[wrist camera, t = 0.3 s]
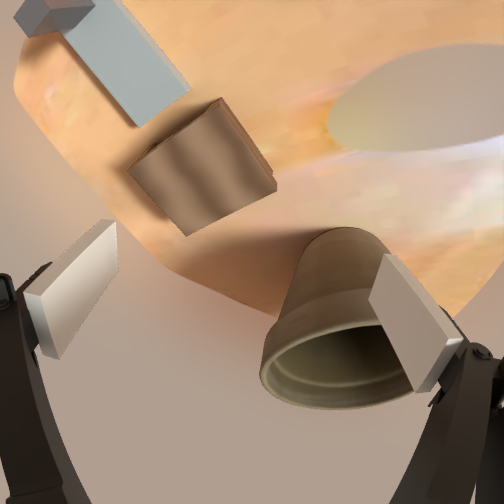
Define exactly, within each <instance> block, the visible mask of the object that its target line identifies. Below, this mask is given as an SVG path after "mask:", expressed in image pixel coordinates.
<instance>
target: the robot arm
mask: <svg viewBox="0 0 504 504" xmlns="http://www.w3.org/2000/svg"><path fill="white" fill-rule="evenodd" d="M117 258H118V257H117V240H116V221H114V220H104V219H102V220H100V221H99V222H98V223H97V224H96V225H94V226H93V227H92V228H91V229H90V230H89V231H88V232H86V233H85V234H84V235H83V236H82V237H81V238H80V239H78V240H77V241H76V242H75V243H74V244H73V245H71V246H70V247H69V248H68V249H67V250H66V251H65V252H64V253H63V254H62V255H60V256H59V258H57V259H56V260H55V261H54V262H49V263H47V264H46V265H43V266H41V267H40V268H39V269H38V270H37V271H36V272H35V273H34V274H33V275H32V276H31V277H30V278H29V280H26V281H25V282H24V283H23V285H21V286H20V287H19V288H18V289H17V291H15V290H14V286H13V283H12V279H11V276H9V275H8V274H4V273H0V458H1V462H2V466H3V470H4V473H5V477H6V480H7V483H8V486H9V490H10V497H9V498H7V499H6V504H92V503H91V502H90V499H89V498H88V496H87V494H86V492H85V490H84V488H83V486H82V484H81V482H80V480H79V478H78V476H77V473H76V471H75V469H74V467H73V465H72V463H71V460H70V458H69V456H68V453H67V451H66V448H65V446H64V443H63V441H62V438H61V436H60V433H59V430H58V428H57V425H56V422H55V419H54V416H53V413H52V410H51V407H50V404H49V401H48V398H47V394H46V391H45V387H44V384H43V380H42V377H41V373H40V369H39V365H38V361H37V357H36V354H35V352H34V349H35V347H36V346H37V345H38V343H39V345H40V348H41V350H42V353H43V355H45V356H48V357H51V358H55V359H58V360H60V358H61V357H62V355H63V353H64V352H65V350H66V348H67V347H68V345H69V344H70V342H71V341H72V339H73V337H74V336H75V334H76V332H77V331H78V330H79V328H80V327H81V325H82V323H83V322H84V320H85V319H86V317H87V316H88V314H89V313H90V311H91V310H92V308H93V307H94V305H95V304H96V303H97V301H98V300H99V298H100V296H101V295H102V294H103V292H104V291H105V290H106V288H107V287H108V285H109V284H110V282H111V281H112V280H113V278H114V277H115V275H116V274H117V273H118V259H117ZM368 300H369V302H370V304H371V306H372V308H373V310H374V311H375V313H376V315H377V317H378V319H379V321H380V323H381V325H382V327H383V328H384V330H385V332H386V334H387V336H388V338H389V340H390V342H391V344H392V346H393V348H394V350H395V352H396V354H397V356H398V358H399V360H400V362H401V364H402V366H403V368H404V370H405V372H406V375H407V377H408V379H409V381H410V383H411V385H412V387H413V389H414V392H415V393H423V392H430V391H431V390H432V388H433V387H434V385H435V384H436V382H437V381H438V382H439V384H440V386H441V388H440V390H439V391H438V392H437V394H436V395H435V397H434V398H433V399H432V401H431V402H430V403H429V405H428V407H430V406H431V405H432V404H433V406H432V409H431V412H430V414H429V417H428V420H427V423H426V425H425V428H424V431H423V433H422V435H421V438H420V440H419V443H418V445H417V448H416V450H415V452H414V455H413V457H412V459H411V461H410V464H409V465H408V468H407V470H406V472H405V474H404V476H403V478H402V480H401V482H400V484H399V486H398V488H397V490H396V492H395V494H394V495H393V497H392V499H391V501H390V503H389V504H470V501H471V498H472V494H473V491H474V488H475V484H476V495H475V504H504V407H503V408H502V405H501V403H502V402H503V401H504V357H503V358H502V360H500V359H495V358H493V355H492V354H491V352H490V351H489V350H488V349H487V348H486V347H485V346H483V345H481V344H479V343H470V342H469V340H468V339H467V338H466V336H465V335H464V334H463V332H462V331H461V330H460V329H459V327H458V326H456V323H455V322H454V320H452V318H451V316H450V315H449V314H448V313H447V311H445V310H444V309H443V308H442V307H440V306H439V305H438V304H437V303H436V301H435V300H434V299H433V298H432V296H431V295H430V294H429V293H428V292H427V290H426V289H425V288H424V287H423V285H422V284H421V283H420V282H419V281H418V279H417V278H416V277H415V276H414V275H413V273H412V272H411V271H410V270H409V269H408V268H407V266H406V265H405V264H404V263H403V262H402V261H401V260H400V258H399V257H398V256H397V255H392V254H385V253H384V255H383V258H382V261H381V264H380V267H379V270H378V273H377V276H376V279H375V282H374V285H373V288H372V291H371V293H370V296H369V299H368Z"/></svg>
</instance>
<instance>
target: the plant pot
mask: <svg viewBox="0 0 504 504" xmlns="http://www.w3.org/2000/svg"><path fill="white" fill-rule="evenodd" d="M384 253H385V254H391V253H390V251H389V250H388V249H387V248H386V247H385V245H384V244H383V243H382V242H381V241H380V240H379V239H378V238H377V237H376V236H374V235H373V234H371V233H369V232H367V231H365V230H362V229H358V228H338V229H334V230H330V231H327V232H325V233H323V234H321V235H319V236H318V237H317V238H315V239H314V240H313V241H312V242H311V243H310V244H309V245H308V246H307V247H306V249H305V250H304V252H303V254H302V256H301V258H300V260H299V263H298V265H297V268H296V271H295V274H294V277H293V279H292V282H291V285H290V288H289V290H288V293H287V296H286V299H285V301H284V304H283V307H282V310H281V312H280V315H279V318H278V321H277V322H276V323H275V324H274V325H273V326H272V328H271V329H270V331H269V332H268V334H267V336H266V339H265V342H264V349H263V355H262V361H261V368H260V372H259V375H260V380H261V383H262V385H263V386H264V387H265V389H266V390H267V391H268V392H269V393H270V394H272V395H273V396H274V397H276V398H278V399H280V400H282V401H284V402H287V403H289V404H293V405H297V406H301V407H306V408H313V409H320V410H349V409H359V408H366V407H372V406H376V405H380V404H384V403H388V402H391V401H394V400H397V399H399V398H402V397H405V396H406V395H409V394H411V393H413V392H414V389H413V387H412V385H411V383H410V381H409V379H408V377H407V375H406V372H405V370H404V368H403V366H402V364H401V362H400V360H399V358H398V356H397V354H396V352H395V350H394V348H393V346H392V344H391V342H390V340H389V338H388V336H387V334H386V332H385V330H384V328H383V327H382V325H381V323H380V321H379V319H378V317H377V315H376V313H375V311H374V310H373V308H372V306H371V304H370V302H369V300H368V299H369V296H370V293H371V291H372V288H373V285H374V282H375V279H376V276H377V273H378V270H379V267H380V264H381V261H382V258H383V255H384Z"/></svg>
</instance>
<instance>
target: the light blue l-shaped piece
mask: <svg viewBox="0 0 504 504" xmlns="http://www.w3.org/2000/svg"><path fill="white" fill-rule="evenodd" d="M13 18H14V19H15V20H16V22H17V23H18V24H19V26H20V27H21V28H22V30H23V31H24V32H25V34H26V35H27V36H28V37H29V38H31V37H34V36H38V35H42V34H47V33H51V32H56V31H60V33H61V34H62V35H63V36H64V37H65V39H66V40H67V41H68V42H69V44H70V45H71V46H72V47H73V48H74V50H75V51H76V52H77V53H78V55H79V56H80V57H81V58H82V59H83V61H84V62H85V63H86V64H87V66H88V67H89V68H90V69H91V70H92V72H93V73H94V74H95V75H96V76H97V78H98V79H99V80H100V81H101V83H102V84H103V85H104V86H105V87H106V89H107V90H108V91H109V92H110V93H111V95H112V96H113V97H114V98H115V99H116V101H117V102H118V103H119V104H120V106H121V107H122V108H123V109H124V110H125V112H126V113H127V114H128V115H129V116H130V118H131V119H132V120H133V121H134V122H135V124H136V125H137V126H138V127H139V128H140V127H142V126H143V125H144V124H145V123H147V122H148V121H149V120H150V119H152V118H153V117H154V116H156V115H157V114H158V113H159V112H161V111H162V110H163V109H165V108H166V107H167V106H169V105H170V104H171V103H173V102H174V101H175V100H177V99H178V98H180V97H181V96H182V95H184V94H185V93H187V92H188V91H189V90H190V89H192V87H191V86H190V85H189V83H188V82H187V81H186V79H185V78H184V77H183V76H182V74H181V73H180V72H179V70H178V69H177V68H176V67H175V65H174V64H173V63H172V62H171V60H170V59H169V58H168V57H167V55H166V54H165V53H164V52H163V50H162V49H161V48H160V47H159V45H158V44H157V43H156V42H155V40H154V39H153V38H152V37H151V36H150V34H149V33H148V32H147V31H146V30H145V28H144V27H143V26H142V25H141V24H140V22H139V21H138V20H137V19H136V18H135V16H134V15H133V14H132V13H131V12H130V11H129V9H128V8H127V7H126V6H125V5H124V4H123V2H122V1H121V0H25V2H24V3H23V4H22V6H21V7H20V9H19V10H18V11H17V13H16V14H15V16H14V17H13Z"/></svg>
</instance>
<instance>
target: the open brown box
mask: <svg viewBox="0 0 504 504" xmlns="http://www.w3.org/2000/svg"><path fill="white" fill-rule="evenodd" d="M128 173H129V174H130V175H131V176H132V177H133V178H134V179H135V181H136V182H137V183H138V184H139V185H140V186H141V187H142V188H143V190H144V191H145V192H146V193H147V194H148V195H149V196H150V197H151V199H152V200H153V201H154V202H155V203H156V204H157V205H158V206H159V207H160V209H161V210H162V211H163V212H164V213H165V214H166V215H167V216H168V217H169V218H170V220H171V221H172V222H173V223H174V224H175V225H176V226H177V227H178V228H179V229H180V230H181V231H182V233H183V234H184V235H185V236H188V235H190V234H192V233H194V232H196V231H198V230H200V229H202V228H204V227H206V226H208V225H210V224H211V223H213V222H215V221H217V220H219V219H221V218H223V217H225V216H227V215H229V214H231V213H233V212H235V211H237V210H239V209H241V208H243V207H245V206H247V205H249V204H251V203H253V202H255V201H258V200H260V199H262V198H264V197H266V196H268V195H270V194H272V193H274V192H276V191H277V182H276V180H275V179H274V177H273V176H272V175H273V170H272V169H271V167H270V166H269V164H268V163H267V161H266V160H265V158H264V157H263V155H262V154H261V152H260V151H259V150H258V148H257V147H256V145H255V144H254V142H253V141H252V139H251V138H250V136H249V135H248V134H247V132H246V131H245V129H244V128H243V126H242V125H241V124H240V122H239V121H238V119H237V118H236V117H235V115H234V114H233V112H232V111H231V110H230V108H229V107H228V105H227V104H226V103H225V101H224V100H223V99H222V97H221V98H220V99H218V100H216V101H215V102H213V103H212V104H211V105H210V106H209V108H208V109H207V110H206V112H205V113H203V114H202V115H200V116H199V117H197V118H196V119H194V120H193V121H191V122H190V123H188V124H187V125H185V126H184V127H183V128H181V129H180V130H178V131H177V132H175V133H174V134H172V135H171V136H170V137H168V138H167V139H165V140H164V141H163V142H161V143H160V144H159V145H157V144H156V143H154V144H153V145H151V146H150V147H149V148H147V150H146V151H145V152H144V153H143V154H142V155H141V157H140V158H139V159H138V160H137V161H136V162H135V163H134V164H133V165H132V166H131V167H130V168H129V169H128Z"/></svg>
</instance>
